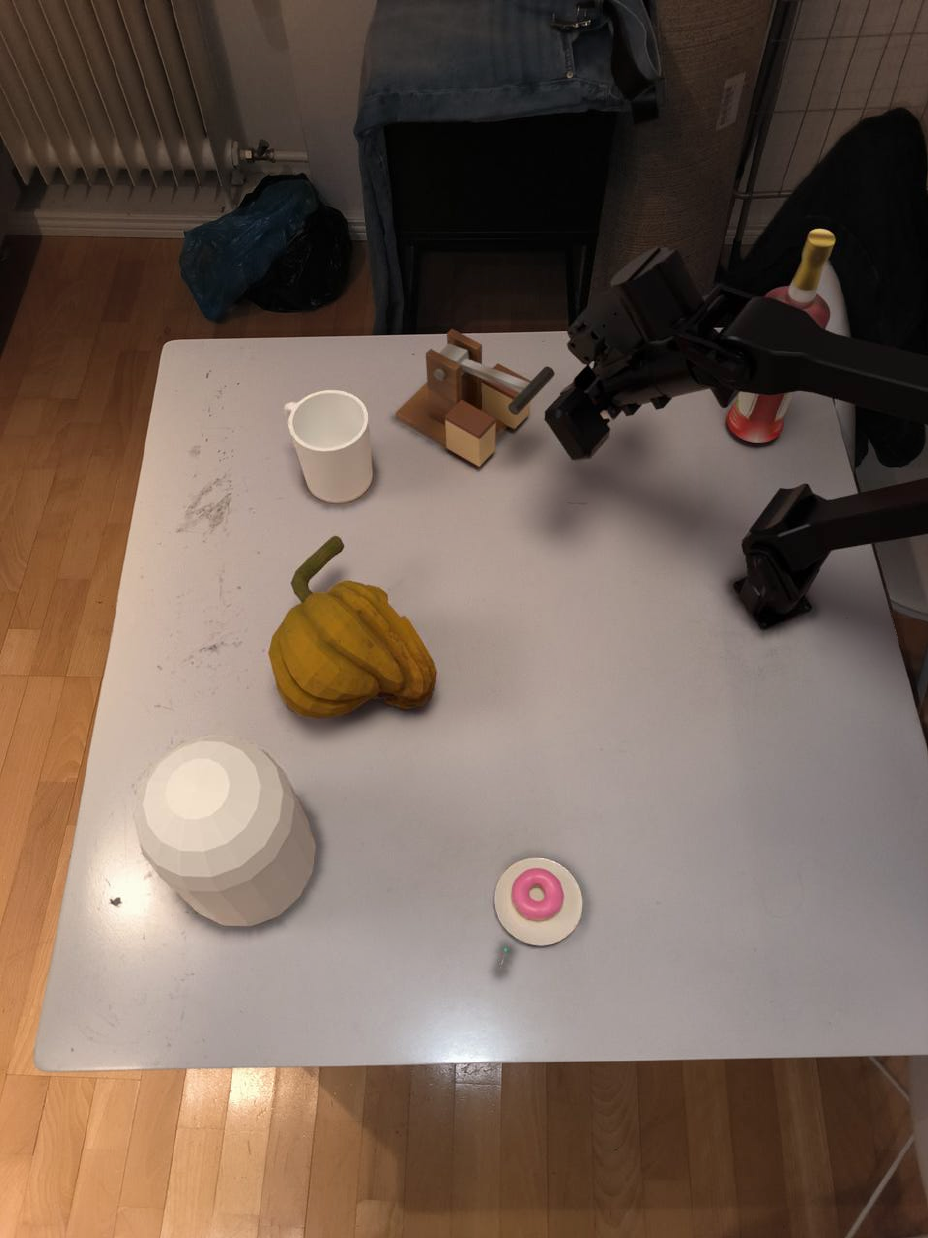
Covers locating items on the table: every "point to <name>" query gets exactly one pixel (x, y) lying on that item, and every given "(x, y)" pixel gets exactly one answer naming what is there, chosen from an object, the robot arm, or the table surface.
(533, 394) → the blade lever
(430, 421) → the slicer
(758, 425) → the liquor
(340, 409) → the mug
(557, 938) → the donut on plate
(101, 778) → the table surface
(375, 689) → the pumpkin
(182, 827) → the container
